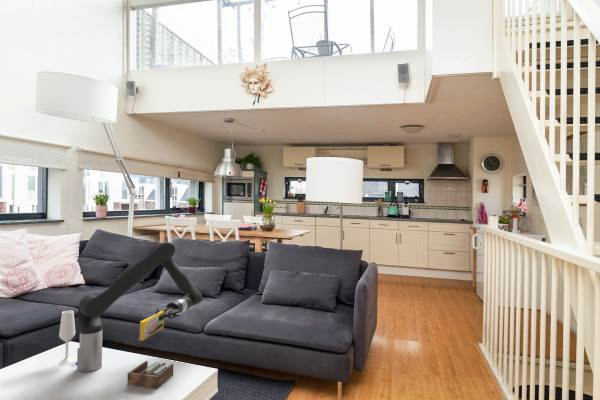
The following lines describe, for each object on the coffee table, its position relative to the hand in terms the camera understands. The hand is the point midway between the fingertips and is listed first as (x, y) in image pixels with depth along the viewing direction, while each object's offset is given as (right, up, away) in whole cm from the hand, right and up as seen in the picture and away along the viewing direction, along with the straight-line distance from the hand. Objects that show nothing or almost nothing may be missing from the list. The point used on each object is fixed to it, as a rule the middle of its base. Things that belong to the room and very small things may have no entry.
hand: (157, 318), depth 170 cm
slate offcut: (+6, -24, -12) cm, 27 cm away
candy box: (-1, -6, -3) cm, 7 cm away
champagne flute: (-46, -23, +6) cm, 52 cm away
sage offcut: (+2, -24, -10) cm, 26 cm away
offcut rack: (+1, -24, -11) cm, 26 cm away
